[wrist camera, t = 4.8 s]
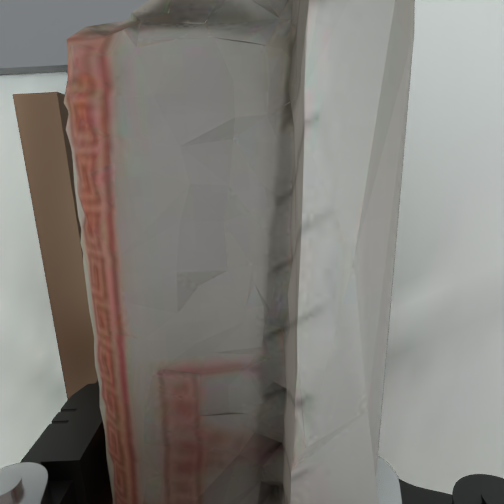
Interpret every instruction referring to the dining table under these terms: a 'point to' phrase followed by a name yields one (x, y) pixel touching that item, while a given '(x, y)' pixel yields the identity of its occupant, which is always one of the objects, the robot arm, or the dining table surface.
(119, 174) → the packaged product
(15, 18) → the charcoal pad
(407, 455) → the dining table surface
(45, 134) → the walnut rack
